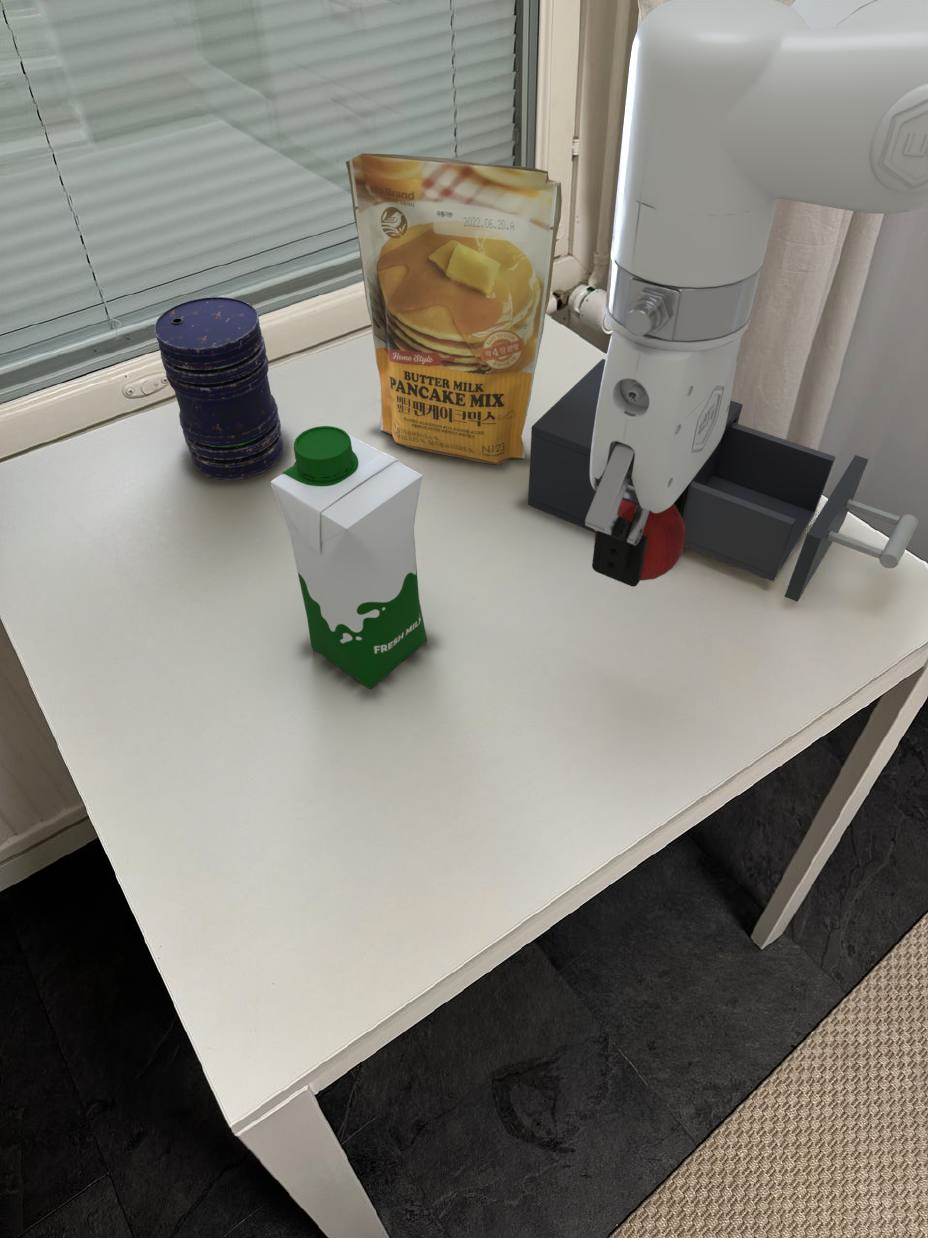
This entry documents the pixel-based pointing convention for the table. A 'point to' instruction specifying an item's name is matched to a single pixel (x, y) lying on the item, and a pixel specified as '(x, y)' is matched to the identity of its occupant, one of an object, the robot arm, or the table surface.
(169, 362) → the navy blue cylinder
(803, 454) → the drawer
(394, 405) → the pancake mix bag
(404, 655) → the milk carton
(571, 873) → the table surface
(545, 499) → the cabinet
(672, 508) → the onion
